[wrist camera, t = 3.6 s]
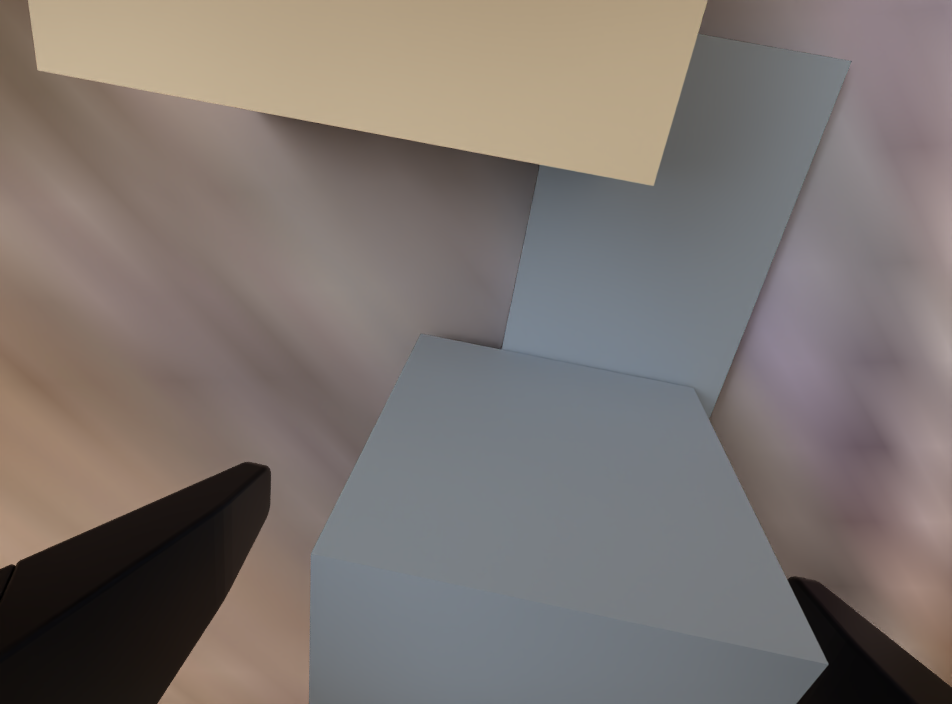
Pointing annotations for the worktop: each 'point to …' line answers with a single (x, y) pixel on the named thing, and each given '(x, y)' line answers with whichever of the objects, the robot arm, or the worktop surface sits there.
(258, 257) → the worktop surface
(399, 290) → the worktop surface
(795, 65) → the tile
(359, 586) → the blue cube
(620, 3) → the birch block
